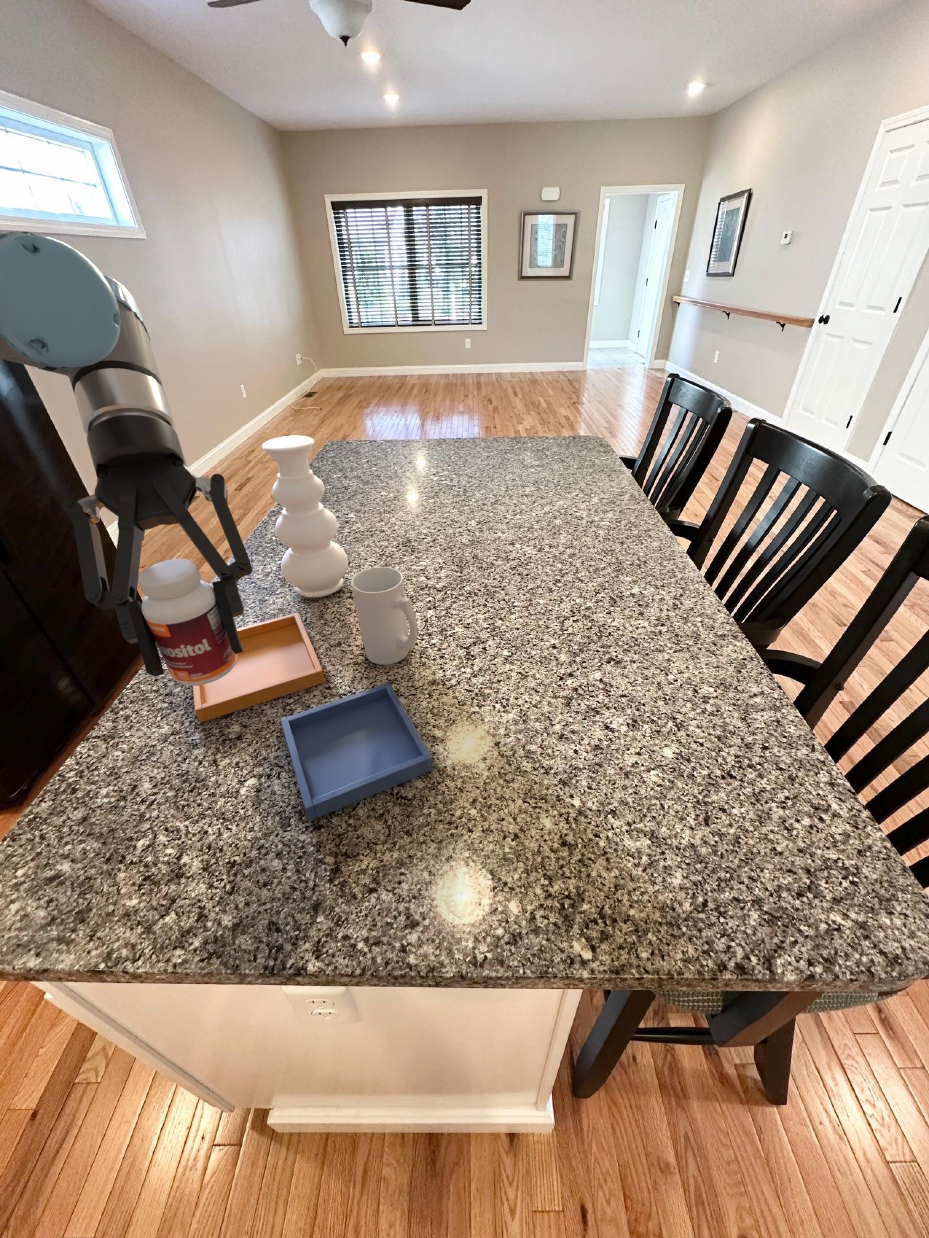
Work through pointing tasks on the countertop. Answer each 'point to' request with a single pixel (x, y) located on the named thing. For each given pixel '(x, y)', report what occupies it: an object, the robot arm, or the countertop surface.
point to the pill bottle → (186, 622)
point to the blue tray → (353, 749)
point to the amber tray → (262, 668)
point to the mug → (384, 614)
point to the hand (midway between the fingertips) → (197, 661)
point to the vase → (305, 521)
